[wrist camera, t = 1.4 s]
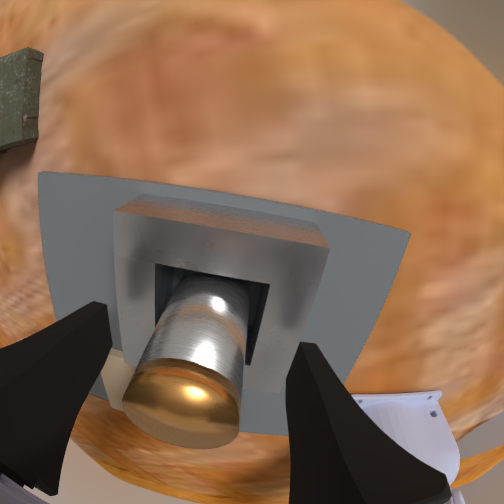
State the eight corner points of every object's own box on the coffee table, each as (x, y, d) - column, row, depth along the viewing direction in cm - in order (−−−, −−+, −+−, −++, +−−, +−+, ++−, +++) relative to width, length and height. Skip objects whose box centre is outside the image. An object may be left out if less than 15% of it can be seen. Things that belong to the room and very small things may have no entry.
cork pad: (198, 369, 17) (196, 376, 16) (194, 424, 19) (193, 429, 19) (98, 344, 16) (94, 349, 16) (113, 402, 19) (111, 407, 19)
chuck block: (316, 222, 13) (330, 248, 10) (277, 354, 16) (279, 393, 13) (143, 193, 12) (113, 210, 10) (143, 328, 16) (124, 363, 13)
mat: (407, 231, 13) (410, 233, 13) (309, 432, 20) (309, 436, 20) (42, 171, 12) (38, 172, 12) (80, 386, 19) (79, 389, 19)
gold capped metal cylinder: (256, 259, 13) (248, 400, 6) (244, 317, 15) (230, 455, 7) (185, 247, 13) (113, 370, 6) (181, 305, 15) (130, 433, 7)
